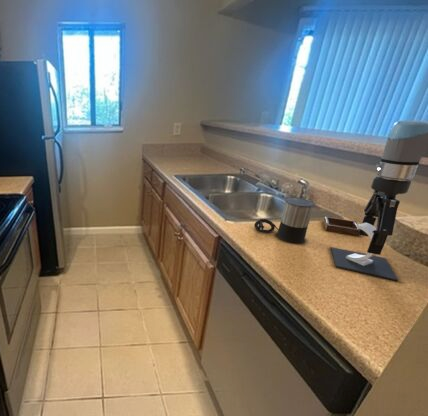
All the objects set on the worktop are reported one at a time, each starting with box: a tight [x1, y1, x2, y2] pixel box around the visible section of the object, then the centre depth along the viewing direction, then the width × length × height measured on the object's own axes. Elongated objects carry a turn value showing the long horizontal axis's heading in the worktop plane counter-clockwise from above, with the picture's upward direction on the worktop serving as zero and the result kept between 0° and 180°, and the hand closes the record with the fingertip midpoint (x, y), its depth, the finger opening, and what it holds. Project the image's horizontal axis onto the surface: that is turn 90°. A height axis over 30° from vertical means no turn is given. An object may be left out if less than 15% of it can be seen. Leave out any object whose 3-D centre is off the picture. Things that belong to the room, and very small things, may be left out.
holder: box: [323, 216, 360, 237], centre depth 111 cm, size 10×10×2 cm
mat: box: [330, 246, 399, 282], centre depth 88 cm, size 14×14×1 cm
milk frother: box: [254, 197, 316, 244], centre depth 105 cm, size 14×16×15 cm
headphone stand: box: [346, 222, 385, 266], centre depth 86 cm, size 5×6×12 cm
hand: (368, 243), depth 85 cm, fingers open, 13 cm apart
